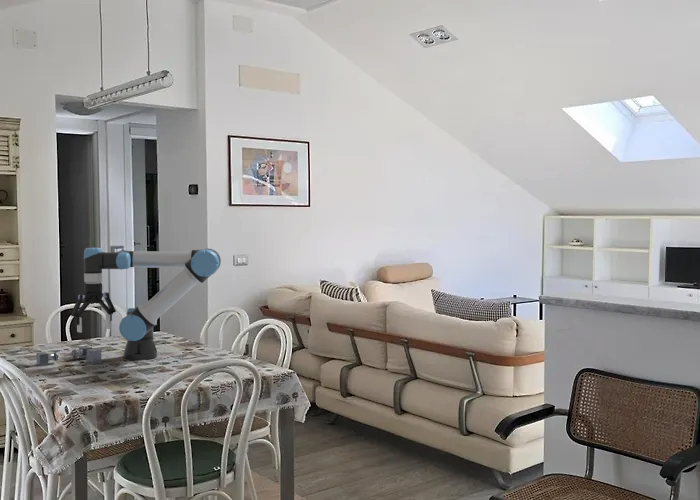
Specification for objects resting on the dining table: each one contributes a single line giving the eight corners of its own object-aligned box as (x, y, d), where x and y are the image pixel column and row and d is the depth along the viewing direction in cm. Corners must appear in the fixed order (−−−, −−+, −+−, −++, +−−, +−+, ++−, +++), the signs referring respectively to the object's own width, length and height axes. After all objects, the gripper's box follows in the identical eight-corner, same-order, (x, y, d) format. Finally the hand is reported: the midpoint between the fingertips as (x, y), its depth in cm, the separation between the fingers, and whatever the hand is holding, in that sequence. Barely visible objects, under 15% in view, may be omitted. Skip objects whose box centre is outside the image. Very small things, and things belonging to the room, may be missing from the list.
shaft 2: (85, 357, 333) (85, 346, 332) (92, 358, 330) (92, 347, 330) (70, 359, 326) (70, 348, 326) (77, 361, 323) (77, 350, 323)
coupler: (86, 362, 320) (86, 349, 320) (95, 361, 323) (95, 348, 323) (92, 364, 316) (92, 351, 316) (101, 363, 319) (101, 349, 319)
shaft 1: (54, 362, 321) (54, 350, 321) (58, 363, 317) (58, 352, 317) (36, 364, 316) (36, 352, 316) (40, 366, 312) (39, 354, 312)
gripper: (114, 280, 330) (115, 326, 331) (62, 284, 311) (62, 332, 312) (123, 281, 325) (123, 328, 326) (70, 285, 306) (71, 334, 307)
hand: (94, 330), depth 319 cm, fingers open, 13 cm apart
